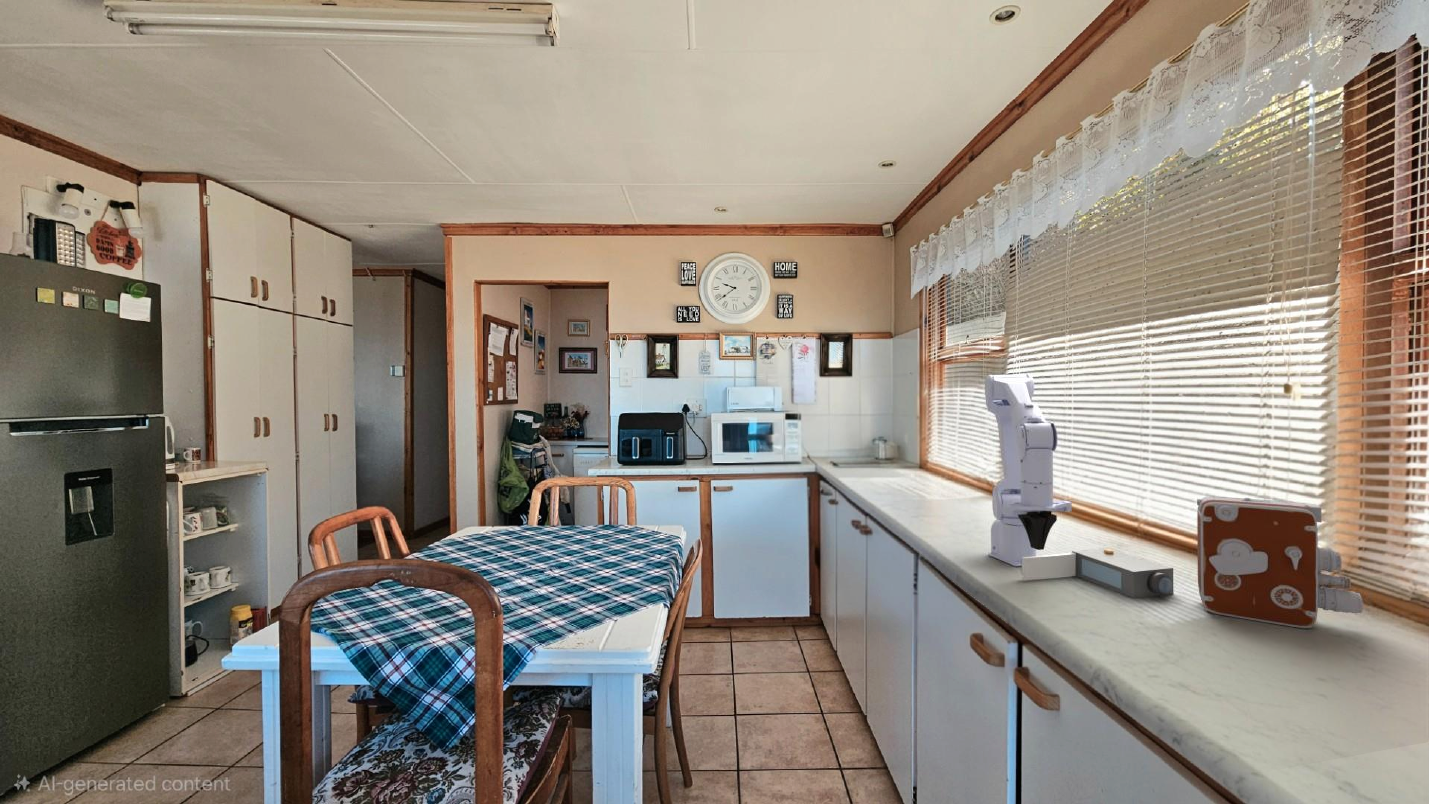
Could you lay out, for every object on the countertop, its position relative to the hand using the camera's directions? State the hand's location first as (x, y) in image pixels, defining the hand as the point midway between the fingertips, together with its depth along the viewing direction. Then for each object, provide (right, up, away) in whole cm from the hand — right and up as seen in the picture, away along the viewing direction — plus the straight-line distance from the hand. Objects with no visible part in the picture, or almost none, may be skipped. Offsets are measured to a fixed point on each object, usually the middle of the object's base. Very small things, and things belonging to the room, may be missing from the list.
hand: (1037, 548), depth 112 cm
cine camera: (+29, -7, -19) cm, 35 cm away
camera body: (+16, -7, -1) cm, 17 cm away
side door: (+4, -7, +3) cm, 9 cm away
